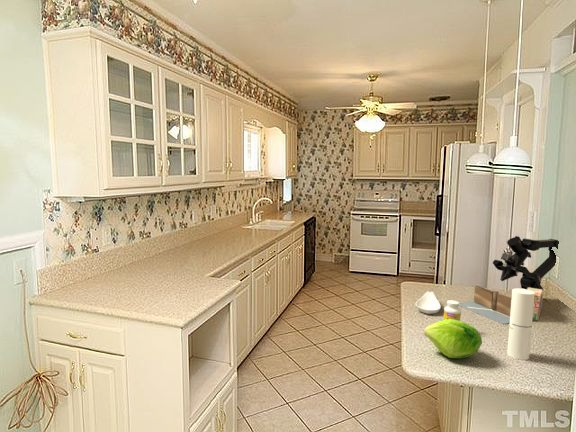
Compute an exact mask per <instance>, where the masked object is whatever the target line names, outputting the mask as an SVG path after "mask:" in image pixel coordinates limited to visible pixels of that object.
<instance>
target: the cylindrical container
mask: <svg viewBox="0 0 576 432" xmlns="http://www.w3.org/2000/svg"><path fill="white" fill-rule="evenodd" d="M534 296H535V292H533V291H530V290H527V289H522V288H518V287H516V288H513V289H511V298H512V300H511V312H510V323H509V324H508V325H509V328H508V339H507V350H506V354H507V356H509V357H510V358H513V359H515V360H520V361H528V360H529V359H530V353H531V341H532V340H531V339H532V331H533V320H532V319H533V307H534Z"/></svg>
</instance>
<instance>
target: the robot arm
mask: <svg viewBox="0 0 576 432" xmlns="http://www.w3.org/2000/svg"><path fill="white" fill-rule="evenodd" d="M559 241H560V240H559ZM559 241H558V239H553V238H548V239H531V238H523V239H521V238H520V236H519V235H515V236H514V237H511V238H509V239H508V240H507V241H506V244H507V245H508V247H509V249H511V251H512V252H513V254H508V253H502V255H501V258H500V260H499V259H494V260H493V261H492V265H494V267H495V268H496V270H498V271H501V276H500V281H501V282H504V281H506V280H509V279H511V278H514V277H517V276H518V274H519V273H522V277H521V278H520V279H519V284H520V289H527V288H528V287H529V288H535V289H542V291H543V290H544V288H543V286H542V285H541V283H542V279H543V277H545V276H546V275H547V274H548V273H549V272H550V271H551V270H552V269H553V268H554V267H555V266H556V265H555V263H556V255H555V253H554V251H553V250H551V249H552V247H556V248H557V249H558V244H559ZM543 248H544V249H546V248H547V250H548V257H547V258H546V259H545V260H544V261H543V262H542V263H541V264H540V265H539V266H538V267H537V268H536V269H534V270H533V271H532V272H530V270H529V269H528V268H527V267H526V266H524V265H525V263H524V262H525V261H526V259H528V258H532V255H531V254H532V253H531V251H532V252H535V251H538V250H540V249H543ZM502 260H503V261H504V262H503V261H502Z"/></svg>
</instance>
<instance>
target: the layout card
mask: <svg viewBox="0 0 576 432" xmlns="http://www.w3.org/2000/svg"><path fill="white" fill-rule="evenodd" d="M459 306H460V307H462V308H464V309H466V310H469V311H472V312H474V313H476V314H477V315H481V316H483V317H485V318H487V319H490V320H492V321H494V322H497V323H499V324H501V325H507V324H508V325H509V324H510V317H509V316H506V315H504V314H501V313H499V312H496V311H493V310H492V308H489V307H486V306H484V305H481V304H479V303H476V302H474V300H470V301H463V302H459ZM459 306H458V307H459Z"/></svg>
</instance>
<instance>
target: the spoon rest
mask: <svg viewBox="0 0 576 432" xmlns="http://www.w3.org/2000/svg"><path fill="white" fill-rule="evenodd" d="M415 307H416V309H417V310H418V311H420V312H421V313H422V314H427V315H431V314H432V315H433V314H436V313H439V311H440V310H441V308H442V307H441V303H440V301H439V300H438V299H437V297H436V295H435V293H434V291H428V290H427V291H426V292H424V293H423V295H422V296H420V298H418V300H417V301H416V302H415Z"/></svg>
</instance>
